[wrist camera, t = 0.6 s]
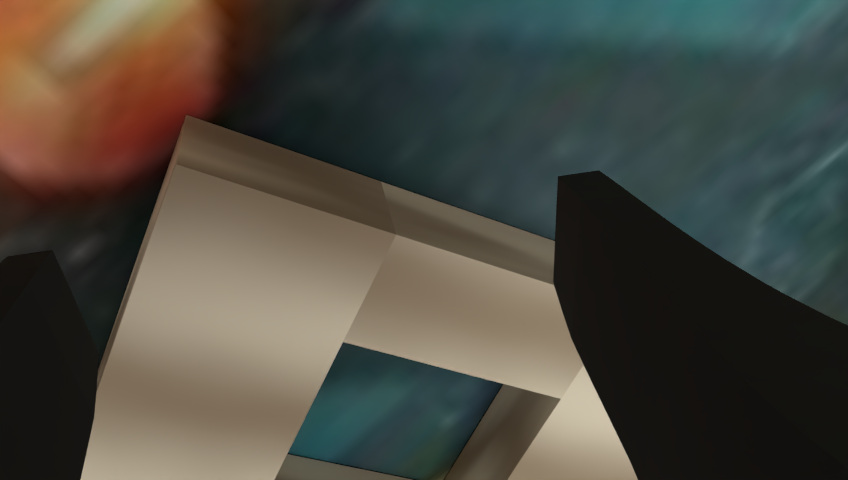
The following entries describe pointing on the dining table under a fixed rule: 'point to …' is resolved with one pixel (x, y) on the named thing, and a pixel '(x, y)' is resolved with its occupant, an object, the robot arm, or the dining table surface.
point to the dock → (328, 323)
